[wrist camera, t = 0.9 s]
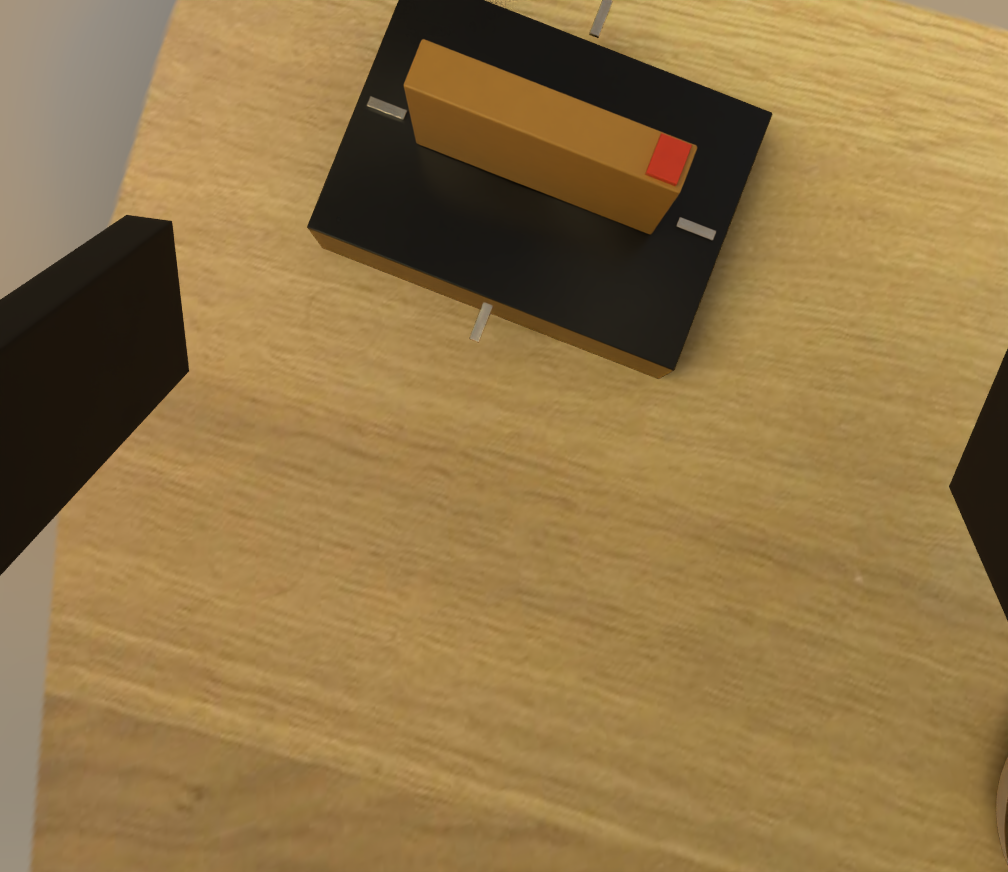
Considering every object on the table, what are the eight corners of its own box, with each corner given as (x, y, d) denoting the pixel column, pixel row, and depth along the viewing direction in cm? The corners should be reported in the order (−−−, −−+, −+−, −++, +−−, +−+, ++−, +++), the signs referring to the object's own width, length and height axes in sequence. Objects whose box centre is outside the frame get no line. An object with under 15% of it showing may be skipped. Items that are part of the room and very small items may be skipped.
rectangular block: (415, 143, 33) (401, 81, 28) (431, 102, 33) (421, 33, 28) (650, 235, 33) (681, 191, 28) (667, 194, 33) (700, 142, 28)
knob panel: (306, 286, 36) (288, 268, 33) (431, -25, 36) (426, -73, 33) (644, 417, 36) (659, 412, 33) (764, 104, 36) (790, 70, 33)
